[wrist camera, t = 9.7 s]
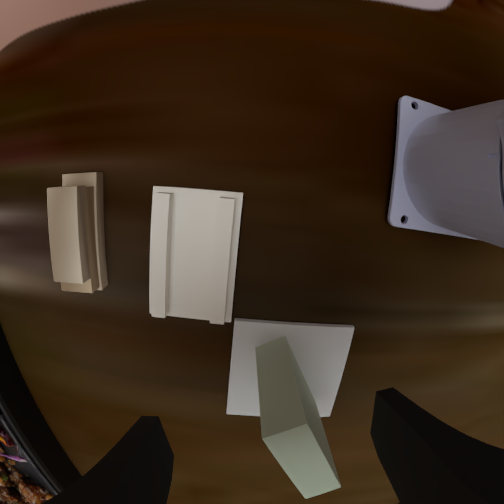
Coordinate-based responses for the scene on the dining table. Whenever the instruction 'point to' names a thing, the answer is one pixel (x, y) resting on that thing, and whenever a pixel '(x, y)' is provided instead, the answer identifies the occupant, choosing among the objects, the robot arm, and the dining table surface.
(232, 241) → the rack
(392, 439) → the robot arm
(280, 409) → the grey green block
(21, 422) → the food platter
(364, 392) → the dining table surface
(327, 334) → the mat
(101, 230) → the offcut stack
